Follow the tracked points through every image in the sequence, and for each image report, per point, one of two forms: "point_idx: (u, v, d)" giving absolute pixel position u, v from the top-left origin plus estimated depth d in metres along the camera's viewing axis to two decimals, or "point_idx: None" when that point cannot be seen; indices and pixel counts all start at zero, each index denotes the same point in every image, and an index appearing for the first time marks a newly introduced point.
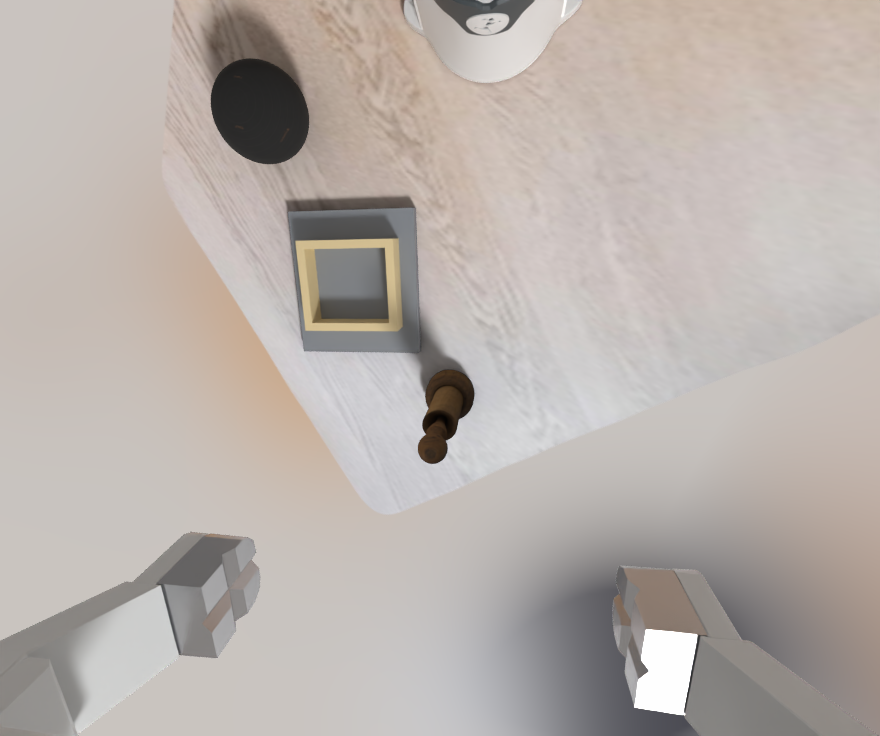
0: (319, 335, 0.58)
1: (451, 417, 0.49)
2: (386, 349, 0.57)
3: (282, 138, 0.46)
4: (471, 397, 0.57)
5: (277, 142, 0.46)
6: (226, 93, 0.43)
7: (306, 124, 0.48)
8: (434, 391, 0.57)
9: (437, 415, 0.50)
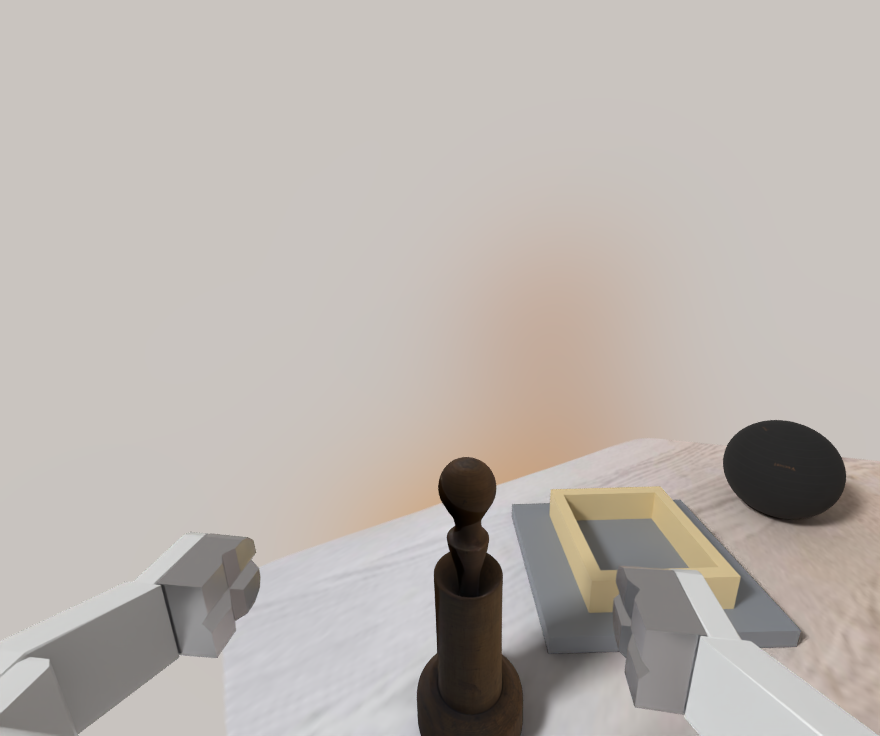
0: (538, 518, 0.44)
1: (488, 592, 0.23)
2: (540, 589, 0.35)
3: (779, 465, 0.41)
4: None
5: (771, 461, 0.42)
6: (789, 421, 0.45)
7: (805, 500, 0.41)
8: None
9: (479, 584, 0.25)
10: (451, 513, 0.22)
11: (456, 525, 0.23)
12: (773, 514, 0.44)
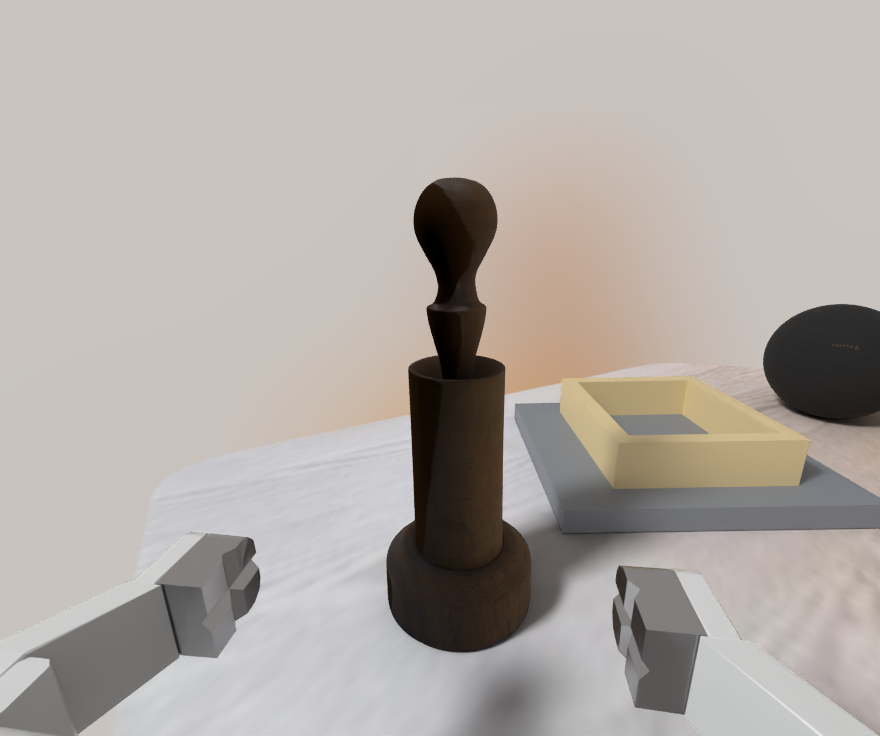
0: (546, 413, 0.37)
1: None
2: (551, 469, 0.28)
3: (838, 345, 0.34)
4: (467, 601, 0.17)
5: (828, 342, 0.35)
6: None
7: (871, 385, 0.34)
8: None
9: None
10: (431, 252, 0.15)
11: (439, 281, 0.16)
12: (827, 411, 0.36)
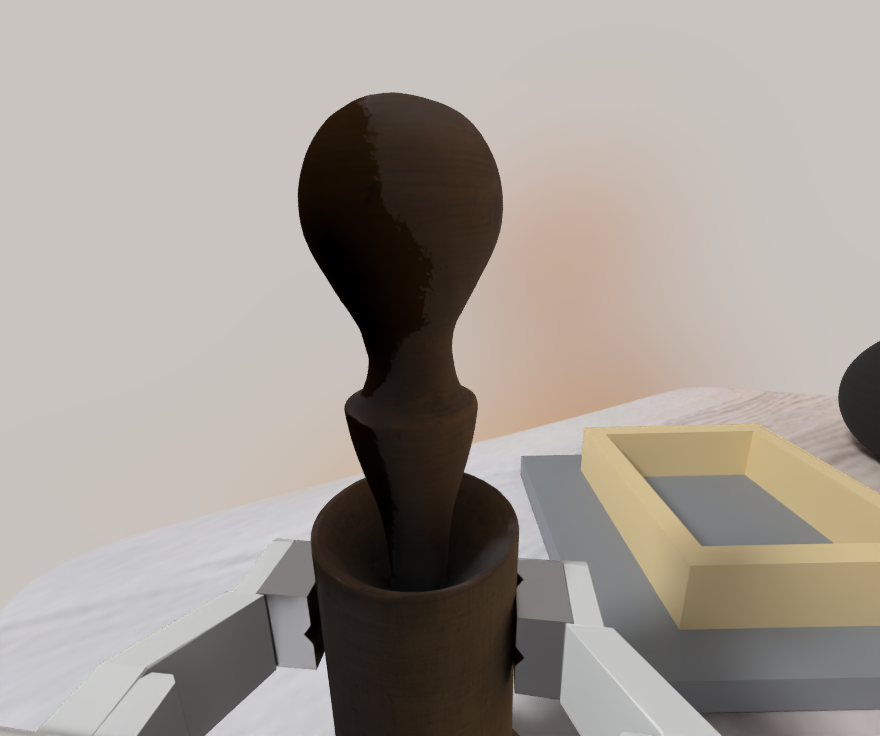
0: (563, 473, 0.28)
1: (474, 577, 0.07)
2: None
3: None
4: None
5: None
6: None
7: None
8: None
9: (452, 559, 0.09)
10: (340, 285, 0.06)
11: (368, 350, 0.07)
12: None
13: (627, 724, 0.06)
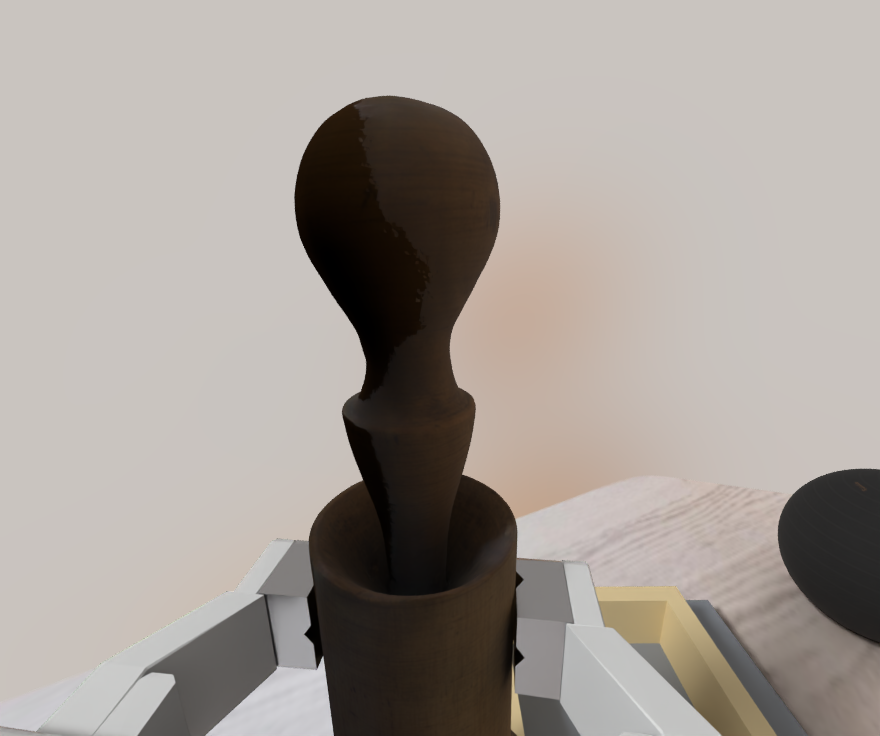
0: None
1: (472, 580, 0.07)
2: None
3: None
4: None
5: None
6: None
7: None
8: None
9: (451, 561, 0.09)
10: (337, 288, 0.06)
11: (366, 354, 0.07)
12: (875, 639, 0.25)
13: (627, 724, 0.06)
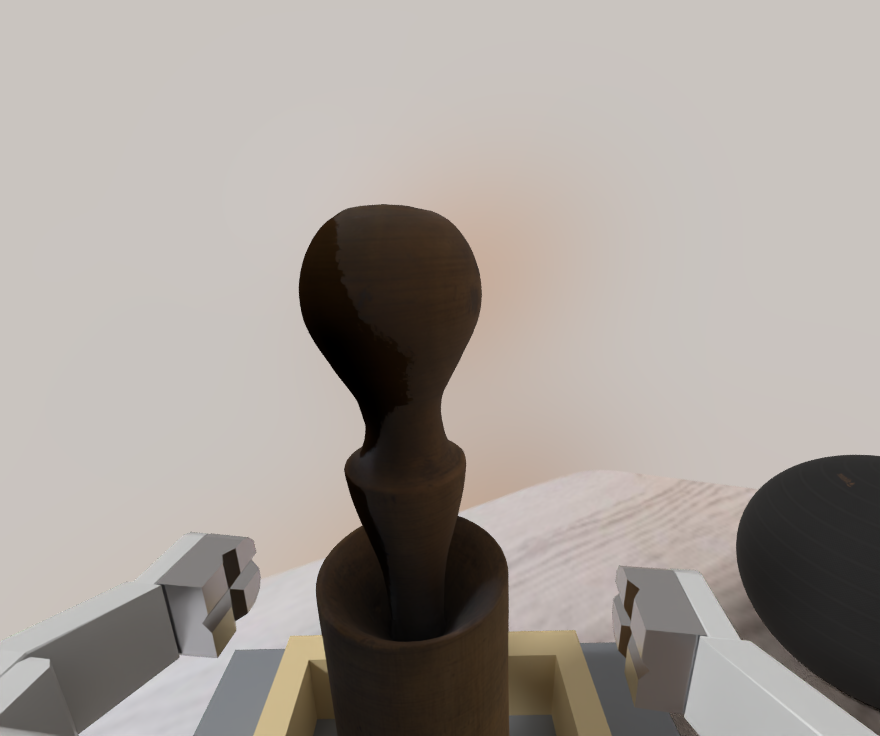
0: (263, 705, 0.17)
1: (466, 625, 0.08)
2: None
3: None
4: None
5: (873, 576, 0.15)
6: None
7: None
8: None
9: (448, 601, 0.10)
10: (337, 367, 0.07)
11: (365, 419, 0.08)
12: (869, 704, 0.17)
13: None
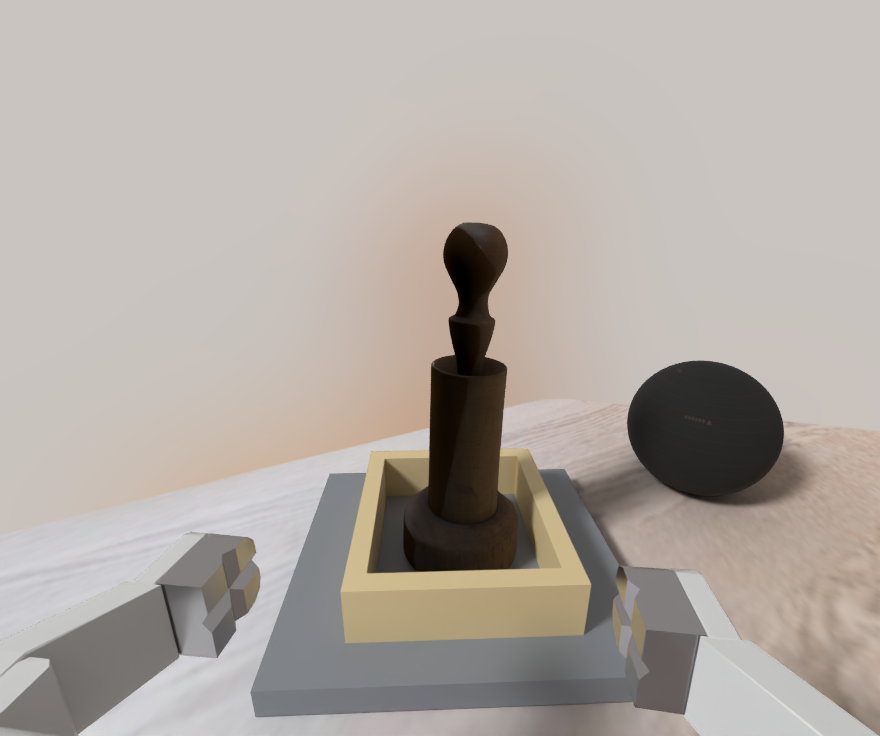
0: (354, 492, 0.30)
1: None
2: (290, 601, 0.22)
3: (690, 418, 0.29)
4: (473, 546, 0.22)
5: (681, 412, 0.29)
6: None
7: (725, 467, 0.28)
8: None
9: None
10: (457, 277, 0.20)
11: (461, 300, 0.21)
12: (684, 489, 0.31)
13: None
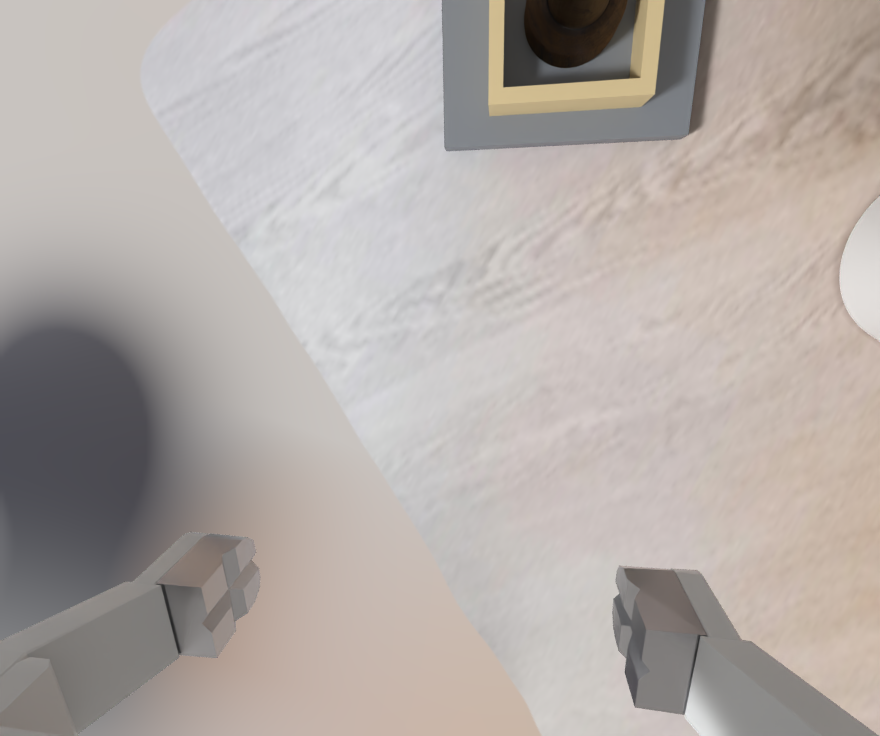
0: None
1: None
2: (448, 83, 0.33)
3: None
4: (580, 49, 0.29)
5: None
6: None
7: None
8: None
9: None
10: None
11: None
12: None
13: None
